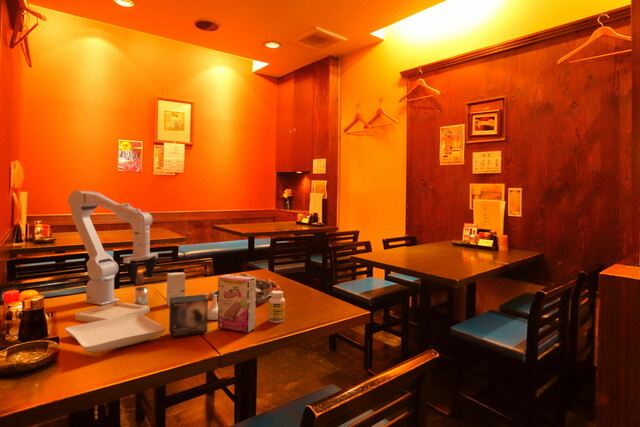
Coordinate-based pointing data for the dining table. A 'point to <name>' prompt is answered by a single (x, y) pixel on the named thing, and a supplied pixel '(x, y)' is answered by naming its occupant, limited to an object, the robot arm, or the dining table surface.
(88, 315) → the tray
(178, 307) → the small box
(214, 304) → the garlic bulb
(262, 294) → the food tray
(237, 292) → the candy bar box
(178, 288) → the skincare box
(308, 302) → the dining table surface
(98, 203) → the robot arm
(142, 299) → the cylinder
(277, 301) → the supplement bottle
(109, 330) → the salad plate
